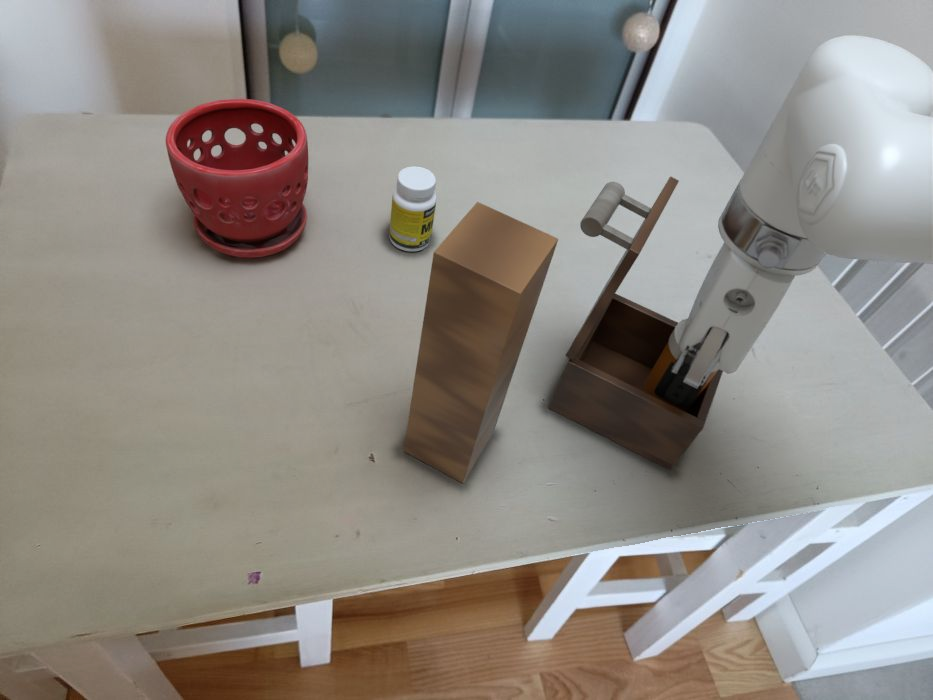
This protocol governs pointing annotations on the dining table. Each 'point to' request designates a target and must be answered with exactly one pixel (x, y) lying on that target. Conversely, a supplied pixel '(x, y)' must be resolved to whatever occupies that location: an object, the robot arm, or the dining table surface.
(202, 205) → the flower pot
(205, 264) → the dining table surface
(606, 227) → the lid
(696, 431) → the chest
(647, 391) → the pill bottle
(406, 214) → the supplement bottle
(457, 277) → the stand
